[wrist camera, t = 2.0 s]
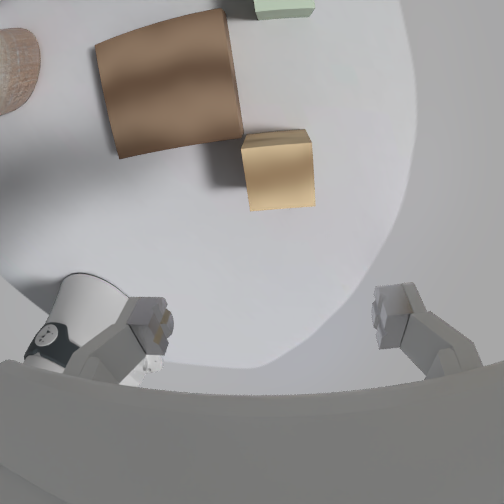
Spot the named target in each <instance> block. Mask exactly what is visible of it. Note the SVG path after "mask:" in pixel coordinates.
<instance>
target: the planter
mask: <svg viewBox="0 0 504 504" xmlns="http://www.w3.org/2000/svg"><path fill="white" fill-rule="evenodd" d="M39 70H40V50H39V45H38V42H37V40H36V38H35V36H34V35H33V34H32V33H31V32H30V31H28V30H26V29H23V28H9V29H0V115H3V114H6V113H9V112H11V111H14V110H16V109H17V108H19V107H21V106H22V105H23V104H24V103H25V102H26V101H27V100H28V98H29V97H30V95H31V94H32V92H33V90H34V88H35V85H36V82H37V79H38V75H39Z"/></svg>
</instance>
